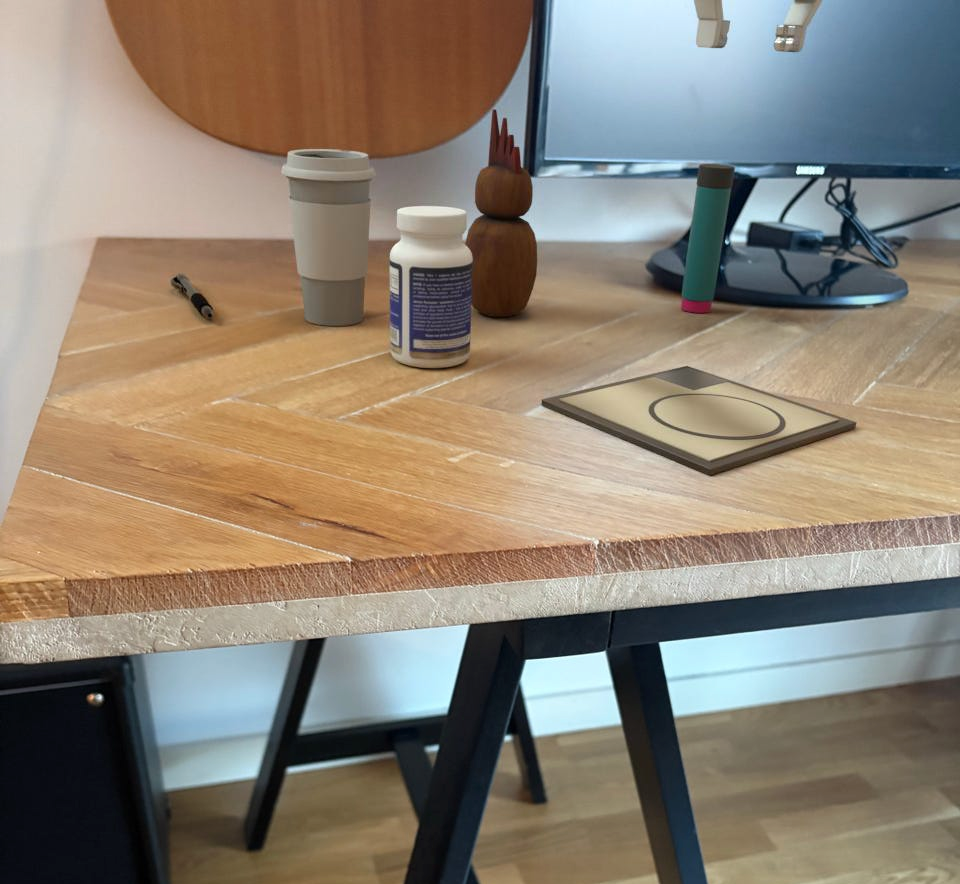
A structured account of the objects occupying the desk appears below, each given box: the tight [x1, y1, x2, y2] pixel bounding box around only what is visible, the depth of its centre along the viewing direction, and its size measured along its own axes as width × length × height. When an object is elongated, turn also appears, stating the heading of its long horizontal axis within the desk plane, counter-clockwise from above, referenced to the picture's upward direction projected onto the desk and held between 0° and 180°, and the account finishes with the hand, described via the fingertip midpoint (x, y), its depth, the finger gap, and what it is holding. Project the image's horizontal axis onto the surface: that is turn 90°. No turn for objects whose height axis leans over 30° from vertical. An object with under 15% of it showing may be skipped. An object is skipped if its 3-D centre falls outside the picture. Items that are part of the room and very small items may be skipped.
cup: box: [281, 148, 377, 327], centre depth 77 cm, size 7×7×12 cm
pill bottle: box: [389, 205, 473, 369], centre depth 69 cm, size 6×6×10 cm
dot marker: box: [680, 163, 736, 314], centre depth 84 cm, size 3×3×12 cm
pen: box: [170, 273, 214, 319], centre depth 82 cm, size 14×2×1 cm, turn 24°
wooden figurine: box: [464, 109, 538, 318], centre depth 80 cm, size 7×6×15 cm
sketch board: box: [540, 365, 857, 476], centre depth 63 cm, size 14×14×1 cm
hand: (750, 50), depth 76 cm, fingers open, 8 cm apart
